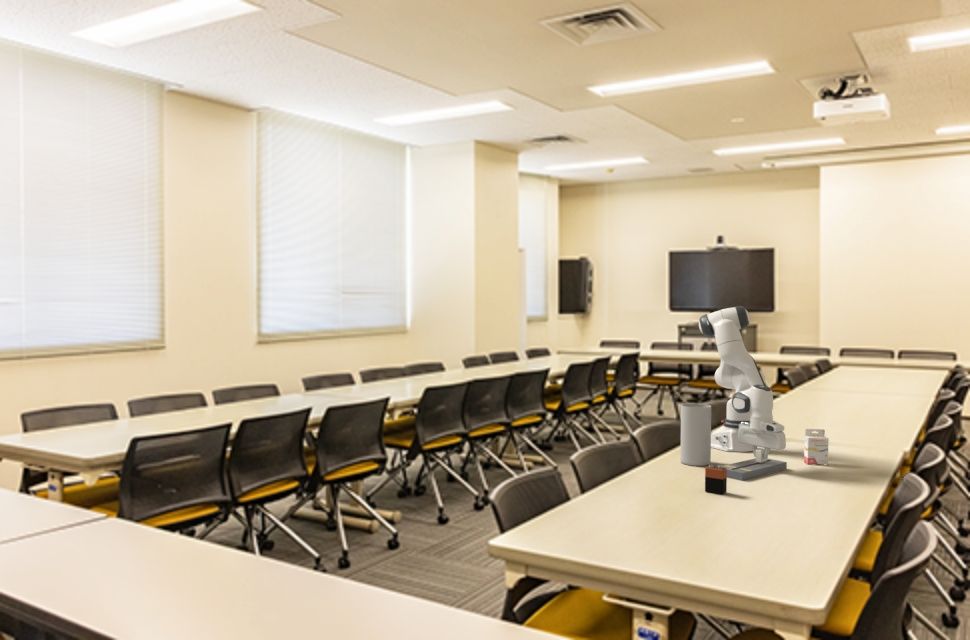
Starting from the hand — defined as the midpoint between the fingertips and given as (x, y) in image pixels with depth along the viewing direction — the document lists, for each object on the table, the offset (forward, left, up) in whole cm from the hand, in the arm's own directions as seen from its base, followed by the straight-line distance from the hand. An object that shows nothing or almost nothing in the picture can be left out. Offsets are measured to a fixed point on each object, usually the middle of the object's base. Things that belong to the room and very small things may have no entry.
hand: (760, 457), depth 307 cm
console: (0, -6, -5) cm, 8 cm away
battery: (+10, -45, -5) cm, 47 cm away
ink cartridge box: (+8, +30, -5) cm, 31 cm away
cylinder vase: (-24, -11, -5) cm, 27 cm away
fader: (0, 0, -4) cm, 4 cm away
